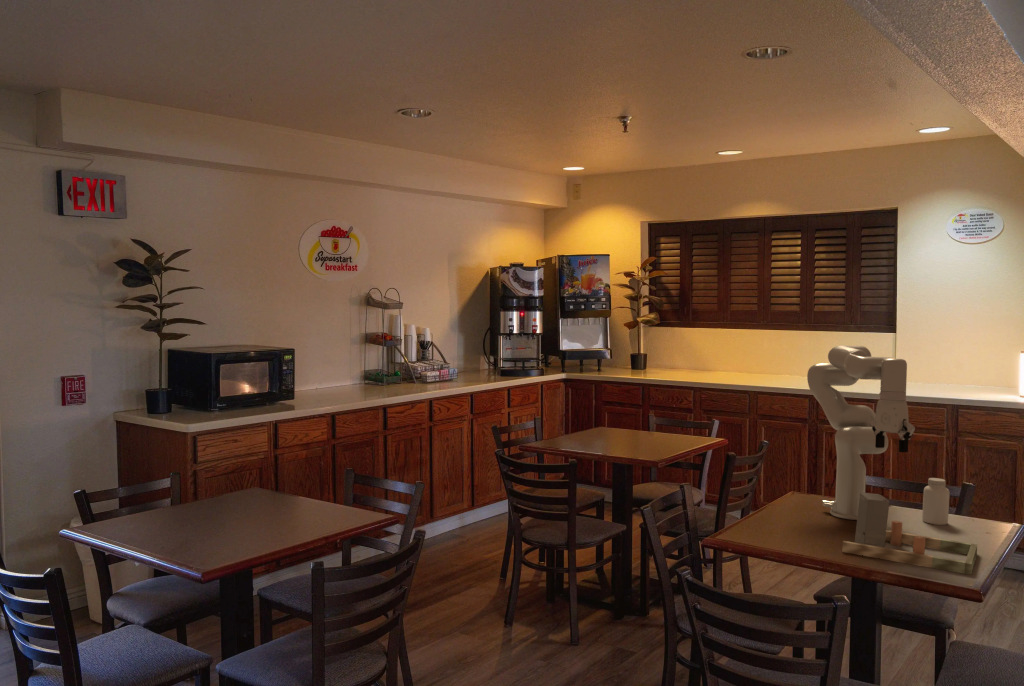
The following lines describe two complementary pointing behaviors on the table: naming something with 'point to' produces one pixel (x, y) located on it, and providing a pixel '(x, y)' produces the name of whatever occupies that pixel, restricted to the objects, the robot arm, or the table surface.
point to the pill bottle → (936, 502)
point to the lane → (920, 558)
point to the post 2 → (919, 545)
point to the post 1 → (896, 533)
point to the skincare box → (872, 520)
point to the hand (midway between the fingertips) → (891, 449)
